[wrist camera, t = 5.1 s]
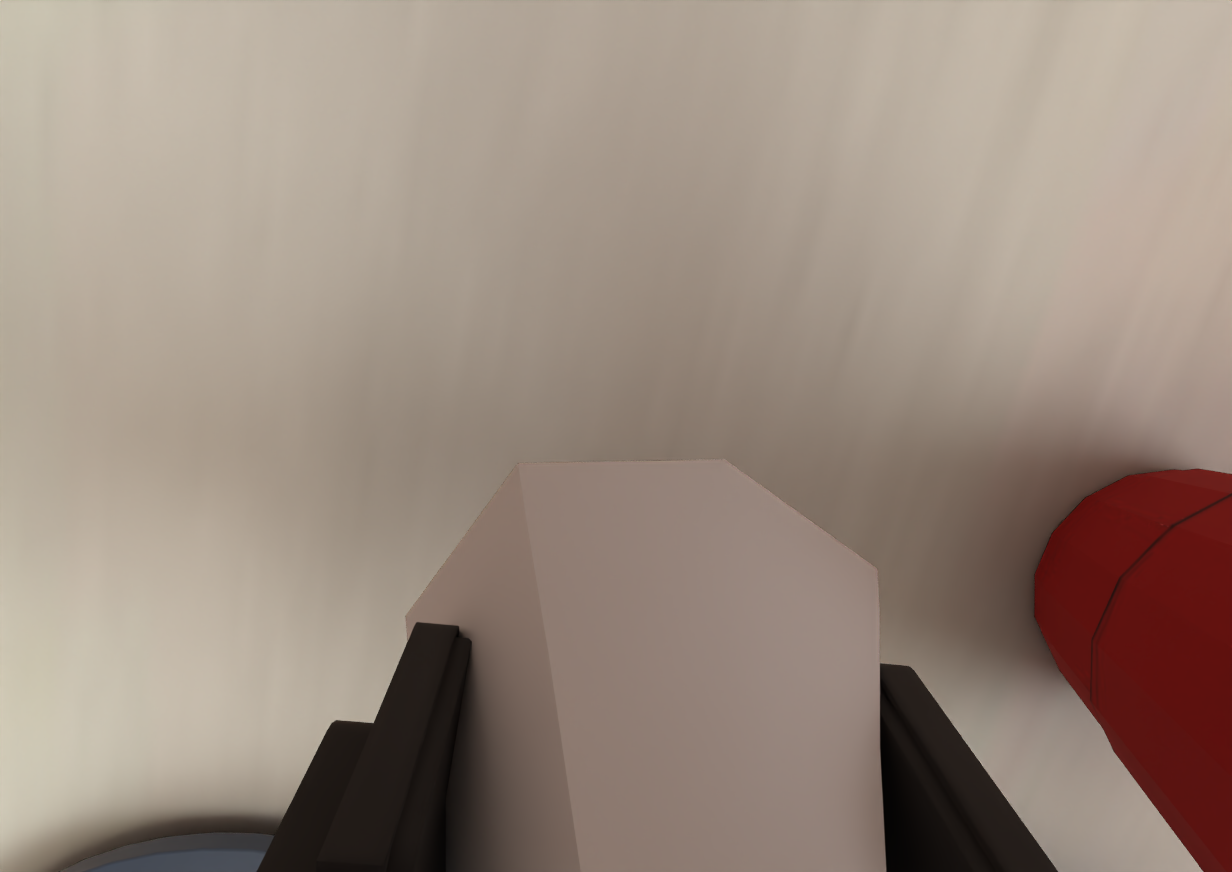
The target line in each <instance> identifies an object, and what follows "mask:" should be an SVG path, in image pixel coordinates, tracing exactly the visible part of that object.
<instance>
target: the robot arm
mask: <svg viewBox="0 0 1232 872" xmlns="http://www.w3.org/2000/svg"><path fill="white" fill-rule="evenodd" d="M458 636H459V626H457V625H445V624H434V623H423V622H416V624H415V625H414V628H413V630H412V632H411V635H410V637H409V640H408V642H407V644H406V647H405V649H404V652H403V654H402V656H401V659H400V661H399V664H398V666H397V668H396V671H395V673H394V676H393V678H392V680H391V683H390V685H389V688H388V690H387V692H386V695H385V697H384V700H383V702H382V704H381V707H380V709H379V712H378V714H377V716H376V719H375V721H374V723H364V722H352V721H339V720H336V721H334V722H333V723H332V724H331V725H330V727H329V729H328V730H327V732H326V734H325V736H324V738H323V740H322V742H321V744H320V746H319V748H318V750H317V752H316V754H315V756H314V758H313V760H312V762H311V764H310V766H309V768H308V770H307V772H306V774H305V776H304V778H303V780H302V782H301V784H300V786H299V788H298V790H297V792H296V794H295V796H294V798H293V800H292V802H291V804H290V806H289V808H288V810H287V812H286V814H285V816H284V818H283V820H282V822H281V824H280V826H279V828H278V830H277V832H276V834H275V836H274V838H273V840H272V842H271V844H270V846H269V848H268V850H267V852H266V854H265V856H264V858H263V860H262V862H261V864H260V866H259V868H258V870H257V872H446V794H447V788H448V782H449V776H450V770H451V764H452V758H453V752H454V746H455V740H456V734H457V728H458V722H459V716H460V710H461V704H462V698H463V692H464V686H465V680H466V674H467V668H468V662H469V656H470V650H471V643H472V641H471V640H470V639H469V638H465V637H458ZM880 757H881V777H882V796H883V816H884V835H885V855H886V872H1058V871H1057V870H1056V868H1055V867H1054V865H1053V864H1052V863H1051V861H1050V860H1049V858H1048V857H1047V856H1046V854H1045V853H1044V851H1043V850H1042V849H1041V847H1040V846H1039V844H1038V843H1037V842H1036V840H1035V839H1034V837H1033V836H1032V835H1031V833H1030V832H1029V830H1028V829H1027V828H1026V826H1025V825H1024V823H1023V822H1022V821H1021V819H1020V818H1019V816H1018V815H1017V814H1016V812H1015V811H1014V810H1013V808H1012V807H1011V805H1010V804H1009V803H1008V801H1007V800H1006V798H1005V797H1004V796H1003V794H1002V793H1001V791H1000V790H999V789H998V787H997V786H996V784H995V783H994V782H993V780H992V779H991V777H990V776H989V775H988V773H987V772H986V770H985V769H984V768H983V766H982V765H981V763H980V762H979V761H978V759H977V758H976V756H975V755H974V754H973V752H972V751H971V749H970V748H969V747H968V745H967V744H966V742H965V741H964V740H963V738H962V737H961V735H960V734H959V733H958V731H957V730H956V729H955V727H954V726H953V724H952V723H951V722H950V720H949V719H948V717H947V716H946V715H945V713H944V712H943V710H942V709H941V708H940V706H939V705H938V703H937V702H936V701H935V699H934V698H933V696H932V695H931V694H930V692H929V691H928V689H927V688H926V687H925V685H924V684H923V682H922V681H921V680H920V678H919V677H918V675H917V674H916V673H915V671H914V670H913V669H912V668H911V667H909V666H902V665H891V664H880Z"/></svg>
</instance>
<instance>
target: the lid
mask: <svg viewBox="0 0 1232 872" xmlns="http://www.w3.org/2000/svg"><path fill="white" fill-rule="evenodd" d="M274 836H275V835H268V834H260V833H216V832H212V833H201V834H191V835H180V836H169V837H164V838H159V839H154V840H149V841H145V842H140V843H135V844H130V845H126V846H122V847H119V848H116V849H114V850H111V851H108V852H105V853H102V854H99V855H96V856H93V857H90V858H87V859H84V860H82V861H80V862H78V863H76V864H74V865H72V866H70V867H68V868H66V869H63V870H61V871H59V872H257V870H258V868H259V866H260V864H261V862H262V860H263V858H264V856H265V854H266V852H267V850H268V848H269V846H270V844H271V842H272V840H273V838H274Z"/></svg>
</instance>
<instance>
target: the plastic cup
mask: <svg viewBox="0 0 1232 872" xmlns="http://www.w3.org/2000/svg"><path fill="white" fill-rule="evenodd" d="M1034 616H1035V619H1036V621H1037V623H1038V625H1039V627H1040V629H1041V632H1042V634H1043V636H1044V638H1045V641H1046V643H1047V645H1048V647H1049V649H1050V651H1051V653H1052V655H1053V657H1054V660H1055V662H1056V664H1057V666H1058V668H1059V670H1060V672H1061V673H1062V674H1063V676H1064V677H1065V678H1066V680H1067V681H1068V682H1069V684H1070V685H1071V686H1072V688H1073V689H1074V690H1075V692H1076V693H1077V694H1078V696H1079V697H1080V698H1081V700H1082V701H1083V702H1084V704H1085V705H1086V706H1087V708H1088V709H1089V710H1090V712H1091V713H1092V714H1093V716H1094V717H1095V719H1096V720H1097V721H1098V723H1099V724H1100V725H1101V727H1102V728H1103V729H1104V731H1105V734H1106V736H1107V738H1108V740H1109V742H1110V744H1111V746H1112V749H1113V751H1114V752H1115V754H1116V755H1117V756H1118V758H1119V759H1120V760H1121V762H1122V763H1123V764H1124V766H1125V767H1126V768H1127V770H1128V771H1129V772H1130V774H1131V775H1132V776H1133V778H1134V779H1135V780H1136V782H1137V783H1138V784H1139V786H1140V787H1141V788H1142V790H1143V791H1144V792H1145V794H1146V795H1147V796H1148V798H1149V799H1150V800H1151V802H1152V803H1153V805H1154V806H1155V807H1156V809H1157V810H1158V811H1159V813H1160V814H1161V815H1162V817H1163V818H1164V819H1165V821H1166V822H1167V823H1168V825H1169V826H1170V827H1171V829H1172V830H1173V831H1174V833H1175V834H1176V835H1177V837H1178V838H1179V839H1180V841H1181V842H1182V843H1183V845H1184V846H1185V847H1186V849H1187V850H1188V851H1189V853H1190V854H1191V855H1192V857H1193V858H1194V859H1195V861H1196V862H1197V863H1198V865H1199V866H1200V868H1201V869H1202V870H1203V872H1232V474H1227V473H1221V472H1215V471H1209V470H1203V469H1191V470H1183V471H1181V470H1175V469H1174V470H1167V471H1159V472H1151V473H1143V474H1135V475H1128V476H1126V477H1124V478H1122V479H1120V480H1118V481H1117V482H1115V483H1113V484H1111V485H1109V486H1107V487H1105V488H1103V489H1101V490H1099V491H1097V492H1095V493H1094V494H1092V495H1090V496H1088V497H1086V498H1085V499H1084V500H1083V501H1082V502H1081V503H1080V504H1079V505H1078V506H1077V507H1076V508H1075V509H1074V510H1073V511H1072V512H1071V514H1070V515H1069V516H1068V517H1067V518H1066V519H1065V520H1064V521H1063V522H1062V523H1061V524H1060V525H1059V526H1058V527H1057V528H1056V530H1055V531H1054V532H1053V533H1052V535H1051V537H1050V540H1049V542H1048V544H1047V547H1046V549H1045V551H1044V554H1043V556H1042V558H1041V561H1040V563H1039V566H1038V568H1037V570H1036V573H1035V607H1034Z"/></svg>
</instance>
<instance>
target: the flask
mask: <svg viewBox="0 0 1232 872" xmlns="http://www.w3.org/2000/svg"><path fill="white" fill-rule="evenodd" d="M405 617H406V629H407V640H409V637H410V635H411V632H412V630H413V628H414V625H415V624H416V622H423V623H434V624H445V625H457V626H459V636H458V637H465V638H469V639H470V640H471V641H472V643H471V650H470V656H469V662H468V668H467V674H466V680H465V686H464V692H463V698H462V704H461V710H460V716H459V722H458V728H457V734H456V740H455V746H454V752H453V758H452V764H451V770H450V776H449V782H448V788H447V794H446V872H886V855H885V835H884V816H883V796H882V777H881V757H880V605H879V586H878V569H877V568H876V567H874V566H873V565H871V564H870V563H869V562H867V561H866V560H864V559H863V558H862V557H860V556H859V555H858V554H856V553H855V552H853V551H852V550H851V549H849V548H848V547H846V546H845V545H844V544H842V543H841V542H839V541H838V540H837V539H835V538H834V537H832V536H831V535H830V534H828V533H827V532H825V531H824V530H823V529H821V528H820V527H818V526H817V525H816V524H814V523H813V522H811V521H810V520H809V519H807V518H806V517H805V516H803V515H802V514H800V513H799V512H798V511H796V510H795V509H793V508H792V507H791V506H789V505H788V504H786V503H785V502H784V501H782V500H781V499H779V498H778V497H777V496H775V495H774V494H772V493H771V492H770V491H768V490H767V489H765V488H764V487H763V486H761V485H760V484H759V483H757V482H756V481H754V480H753V479H752V478H750V477H749V476H747V475H746V474H745V473H743V472H742V471H740V470H739V469H738V468H736V467H735V466H733V465H732V464H731V463H729V462H728V461H726V460H725V459H707V460H653V461H599V462H545V463H518V464H517V465H516V466H515V468H514V469H513V470H512V472H511V473H510V474H509V476H508V477H507V479H506V480H505V481H504V483H503V484H502V485H501V487H500V488H499V489H498V491H497V492H496V493H495V495H494V496H493V498H492V499H491V500H490V502H489V503H488V504H487V506H486V507H485V508H484V510H483V511H482V513H481V514H480V515H479V517H478V518H477V519H476V521H475V522H474V523H473V525H472V526H471V528H470V529H469V530H468V532H467V533H466V534H465V536H464V537H463V538H462V540H461V541H460V542H459V544H458V545H457V547H456V548H455V549H454V551H453V552H452V553H451V555H450V556H449V557H448V559H447V560H446V562H445V563H444V564H443V566H442V567H441V568H440V570H439V571H438V572H437V574H436V575H435V577H434V578H433V579H432V581H431V582H430V583H429V585H428V586H427V587H426V589H425V590H424V591H423V593H422V594H421V596H420V597H419V598H418V600H417V601H416V602H415V604H414V605H413V606H412V608H411V609H410V611H409V612H408V613H407V615H406V616H405Z"/></svg>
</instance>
